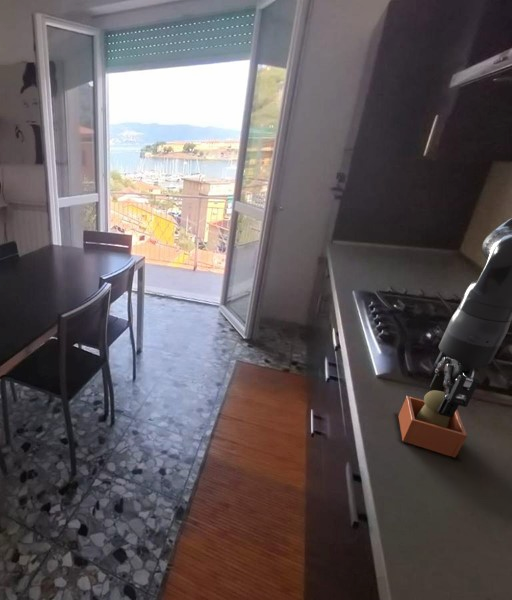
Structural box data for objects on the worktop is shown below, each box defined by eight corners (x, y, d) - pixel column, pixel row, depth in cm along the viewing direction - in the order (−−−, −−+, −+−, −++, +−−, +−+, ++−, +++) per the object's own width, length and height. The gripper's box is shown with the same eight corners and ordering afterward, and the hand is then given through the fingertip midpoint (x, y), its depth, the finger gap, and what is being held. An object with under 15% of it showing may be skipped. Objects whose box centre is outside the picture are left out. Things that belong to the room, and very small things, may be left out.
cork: (400, 426, 79) (417, 387, 75) (425, 423, 80) (443, 384, 75) (424, 448, 74) (444, 407, 69) (451, 445, 75) (472, 404, 70)
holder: (398, 416, 82) (406, 395, 80) (446, 429, 78) (457, 409, 76) (402, 441, 76) (412, 420, 73) (455, 457, 72) (467, 436, 69)
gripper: (515, 359, 59) (473, 431, 66) (489, 322, 70) (455, 388, 77) (456, 346, 62) (422, 417, 69) (439, 314, 73) (412, 377, 80)
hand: (439, 401), depth 73 cm, fingers open, 8 cm apart
